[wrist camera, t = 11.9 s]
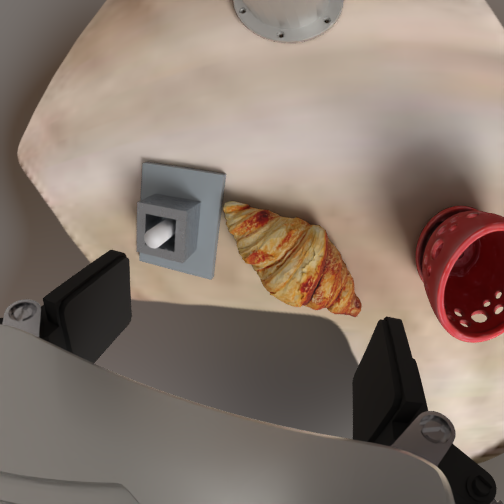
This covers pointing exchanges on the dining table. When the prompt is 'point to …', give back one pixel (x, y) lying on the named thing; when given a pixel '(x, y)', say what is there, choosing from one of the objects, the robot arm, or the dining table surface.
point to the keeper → (182, 186)
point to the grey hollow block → (186, 226)
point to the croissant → (293, 259)
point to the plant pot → (464, 270)
